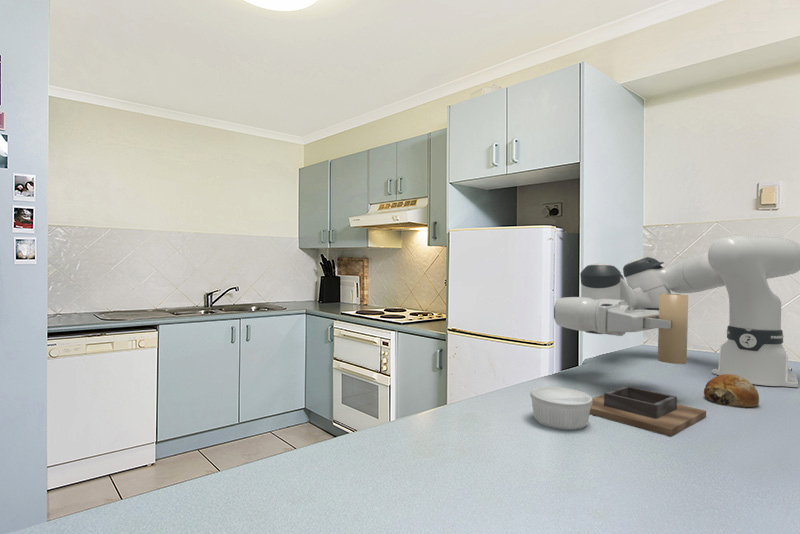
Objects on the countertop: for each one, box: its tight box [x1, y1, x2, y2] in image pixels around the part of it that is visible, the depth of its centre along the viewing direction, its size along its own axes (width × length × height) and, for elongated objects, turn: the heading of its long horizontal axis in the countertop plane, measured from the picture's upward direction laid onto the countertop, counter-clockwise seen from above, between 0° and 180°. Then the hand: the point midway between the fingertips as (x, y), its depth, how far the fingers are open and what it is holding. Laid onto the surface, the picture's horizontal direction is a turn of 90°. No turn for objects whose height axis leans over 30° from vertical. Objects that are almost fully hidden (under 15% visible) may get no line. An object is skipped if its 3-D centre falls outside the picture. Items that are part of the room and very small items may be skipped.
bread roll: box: [703, 374, 760, 409], centre depth 103 cm, size 10×10×8 cm
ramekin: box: [529, 386, 593, 431], centre depth 87 cm, size 11×11×5 cm
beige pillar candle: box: [657, 293, 689, 365], centre depth 103 cm, size 6×6×15 cm
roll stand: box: [589, 385, 707, 437], centre depth 93 cm, size 18×18×4 cm
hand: (677, 323), depth 102 cm, fingers closed on beige pillar candle, 6 cm apart
